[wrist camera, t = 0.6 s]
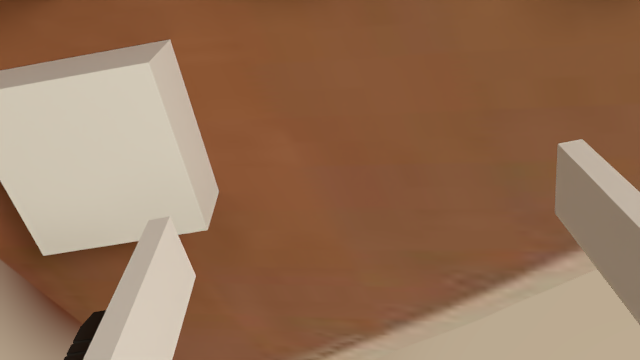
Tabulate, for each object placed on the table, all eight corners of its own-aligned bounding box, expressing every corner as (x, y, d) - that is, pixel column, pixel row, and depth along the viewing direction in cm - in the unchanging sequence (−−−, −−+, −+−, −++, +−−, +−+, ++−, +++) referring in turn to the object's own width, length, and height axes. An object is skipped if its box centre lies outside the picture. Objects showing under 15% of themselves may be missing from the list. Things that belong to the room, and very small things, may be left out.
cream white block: (-1, 70, 39) (-48, 97, 34) (170, 39, 39) (148, 62, 33) (72, 215, 46) (43, 255, 41) (219, 191, 45) (207, 230, 40)
